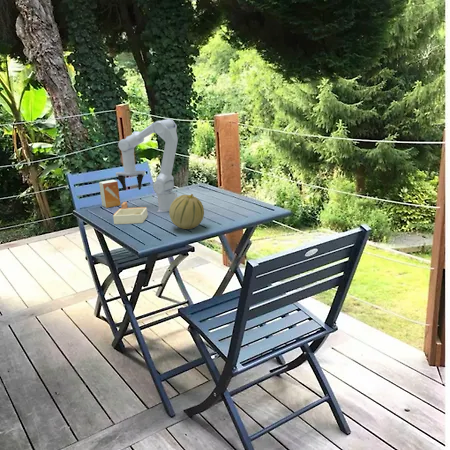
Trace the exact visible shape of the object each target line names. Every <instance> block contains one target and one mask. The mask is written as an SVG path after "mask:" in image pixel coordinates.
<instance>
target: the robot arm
mask: <svg viewBox="0 0 450 450" xmlns="http://www.w3.org/2000/svg"><path fill="white" fill-rule="evenodd" d="M177 127H178V125H177V123H175V121H174V120H173V119H172V118H166V119H162V120H156V121H154V122H152V123H151V124H149V125H148V126H146V128H144V129H143V130H141V131H136V130H135V131H133V132H132V133H131V134H130V135H127V136H125V138H123V139H120V140H119V141H118V144H117V146H118V148H119V150H120V151H121V154H122V155H121V156H122V165H123V171H116V172H115V177H117V179H118V180H117V181H118V182H120V185H121V187H122V188H123V191H127V185H126V177H129V176H131V177H132V176H136V180H137V187H138V188H137V189H138V190H140V191H141V189H142V182H143V179H144V176H145V175H146V170H137V169H136V162H135V147H137V146H139V145H140V144H142V143H143V142H145V138H146V137H148V136H150V135H152V134H156V135H158V137H160V138H161V140H163V141H164V142H165V143H164V150H163V153H162V155H163V156H162V159H161V165H160V170H159V171H160V172H159V174H158V175H157V177H155V178H156V179H155V182H154V183H153V184H152V185H153V191H154V192H155V193H156V195H157V202H158V203H157V204H158V210H157V211H156V213H157V212H158V213H159V212H160V213H161V212H162V213H163V212H169V209H170V206H171V204H172V202H173V201H174V200H175V199H176V198H177V197H178V193H177V192H175V191H173V189H174V187H175V182H174V179H175V178H174V176H173V175H172V173H173V168H174V162H175V158H176V157H175V156H176V152H177V146H178V144H179V143H178V141H179V138H178V134H177Z"/></svg>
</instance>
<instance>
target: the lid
mask: <svg viewBox="0 0 450 450" xmlns="http://www.w3.org/2000/svg"><path fill="white" fill-rule="evenodd" d="M120 206H121V207H120V208H118V210H117V211H115V212H114V213H113V216H114V215H115V214H116V213H117V212H118V211H119V210H120V209H136V208H147V206H140V207H138V206H137V207H128V206H129V205H128V202H127V201H123V202H122V203H120ZM113 216H112V217H113Z"/></svg>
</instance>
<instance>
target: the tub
mask: <svg viewBox="0 0 450 450" xmlns="http://www.w3.org/2000/svg"><path fill="white" fill-rule="evenodd" d="M119 209H120V208H119ZM119 209H118V210H119ZM118 210H117V211H118ZM117 211H116V212H117ZM116 212H115V213H116ZM115 213H114V214H115ZM137 213H139V214H137ZM114 214H113V215H114ZM134 214H136V215H134ZM148 216H149V215H148V207H146V208H136V209H120V210H119V211H118V212H117V213H116V214H115V215H114V216H112V218H113V224H114V225H125V224H127V225H130V224H132V225H133V224H143V223H144V221H146V219H147V218H148Z"/></svg>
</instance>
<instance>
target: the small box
mask: <svg viewBox="0 0 450 450" xmlns="http://www.w3.org/2000/svg"><path fill="white" fill-rule="evenodd" d="M118 182H119V180H116V179H110V180H109V179H108V180H103V181H99V182H98V184H99V185H98V186H99V193H100V200H101V205H102V207H104V208H106V209H107V208H113V207H118V206H121V198H120V189H119V183H118Z"/></svg>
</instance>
